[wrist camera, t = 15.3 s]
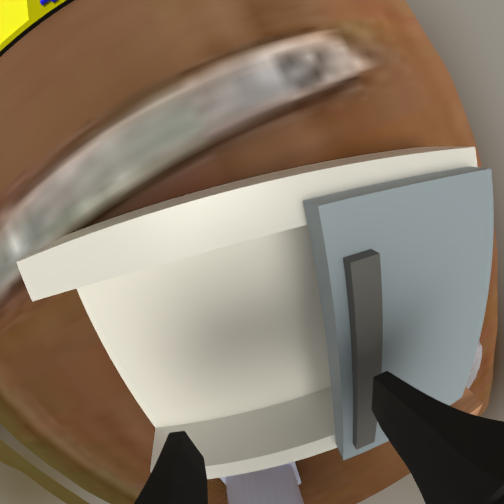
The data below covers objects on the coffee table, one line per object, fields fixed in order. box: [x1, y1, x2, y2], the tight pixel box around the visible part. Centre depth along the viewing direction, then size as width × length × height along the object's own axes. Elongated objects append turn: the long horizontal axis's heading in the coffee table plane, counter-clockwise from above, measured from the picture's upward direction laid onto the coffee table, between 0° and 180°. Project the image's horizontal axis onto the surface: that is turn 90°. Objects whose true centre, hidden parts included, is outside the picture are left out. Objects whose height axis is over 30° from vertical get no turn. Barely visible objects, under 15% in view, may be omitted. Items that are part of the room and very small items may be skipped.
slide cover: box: [303, 166, 494, 460], centre depth 12 cm, size 16×10×2 cm, turn 13°
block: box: [450, 387, 483, 416], centre depth 18 cm, size 4×4×4 cm
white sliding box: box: [17, 147, 477, 479], centre depth 16 cm, size 18×24×6 cm
